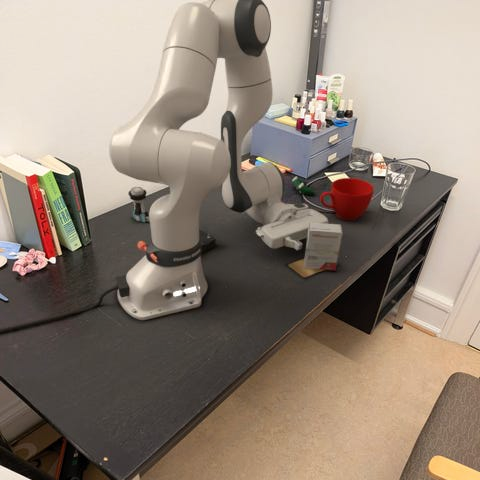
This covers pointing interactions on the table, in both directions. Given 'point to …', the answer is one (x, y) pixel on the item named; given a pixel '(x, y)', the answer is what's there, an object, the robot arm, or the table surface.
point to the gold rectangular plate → (303, 269)
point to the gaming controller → (302, 186)
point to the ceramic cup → (349, 197)
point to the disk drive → (206, 240)
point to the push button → (139, 204)
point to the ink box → (322, 246)
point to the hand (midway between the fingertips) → (313, 242)
